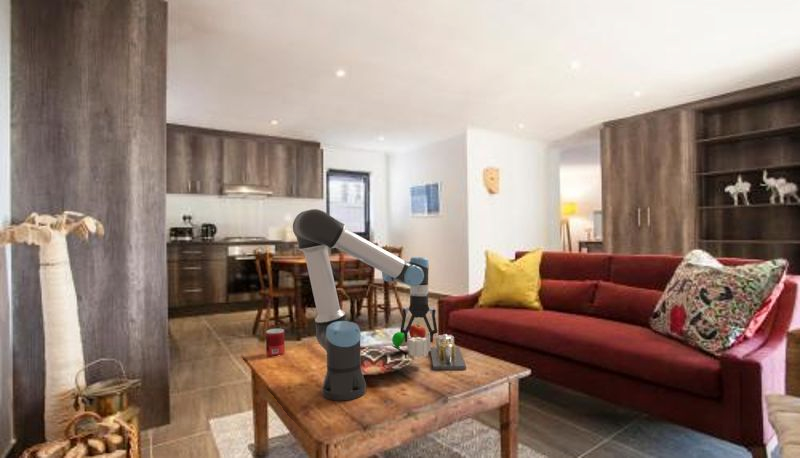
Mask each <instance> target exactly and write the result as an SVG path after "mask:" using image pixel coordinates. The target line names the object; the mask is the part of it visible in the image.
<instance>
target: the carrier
mask: <svg viewBox="0 0 800 458" xmlns="http://www.w3.org/2000/svg"><path fill="white" fill-rule="evenodd" d="M435 337H436V338H435V340H436V344H435V345H436V347H430V357H431V364H432V369H433V371H453V370H454V371H461V370H462V371H463V370H465V371H466V370H467V365H466V362H465V360H464V357H463V355H462V352H461V349H460V347H459V346H457V347H456V344H455V337H454V336H453V335H452V334H447V333H444V334H439V335H437V336H435Z"/></svg>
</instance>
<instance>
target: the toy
mask: <svg viewBox="0 0 800 458" xmlns="http://www.w3.org/2000/svg"><path fill="white" fill-rule="evenodd" d="M391 338H392V339H391V340H392V343H391V346H392V347H393V348H394V349H396V350H397V351H398V350H399V351H400V352H402V350H403V349H402V348H401V347H407V342H405V334H404V333H401V332H400V331H397V332H395V333H394V334H393V336H392V337H391ZM411 338H412V337H410V336H409V339H411Z"/></svg>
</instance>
